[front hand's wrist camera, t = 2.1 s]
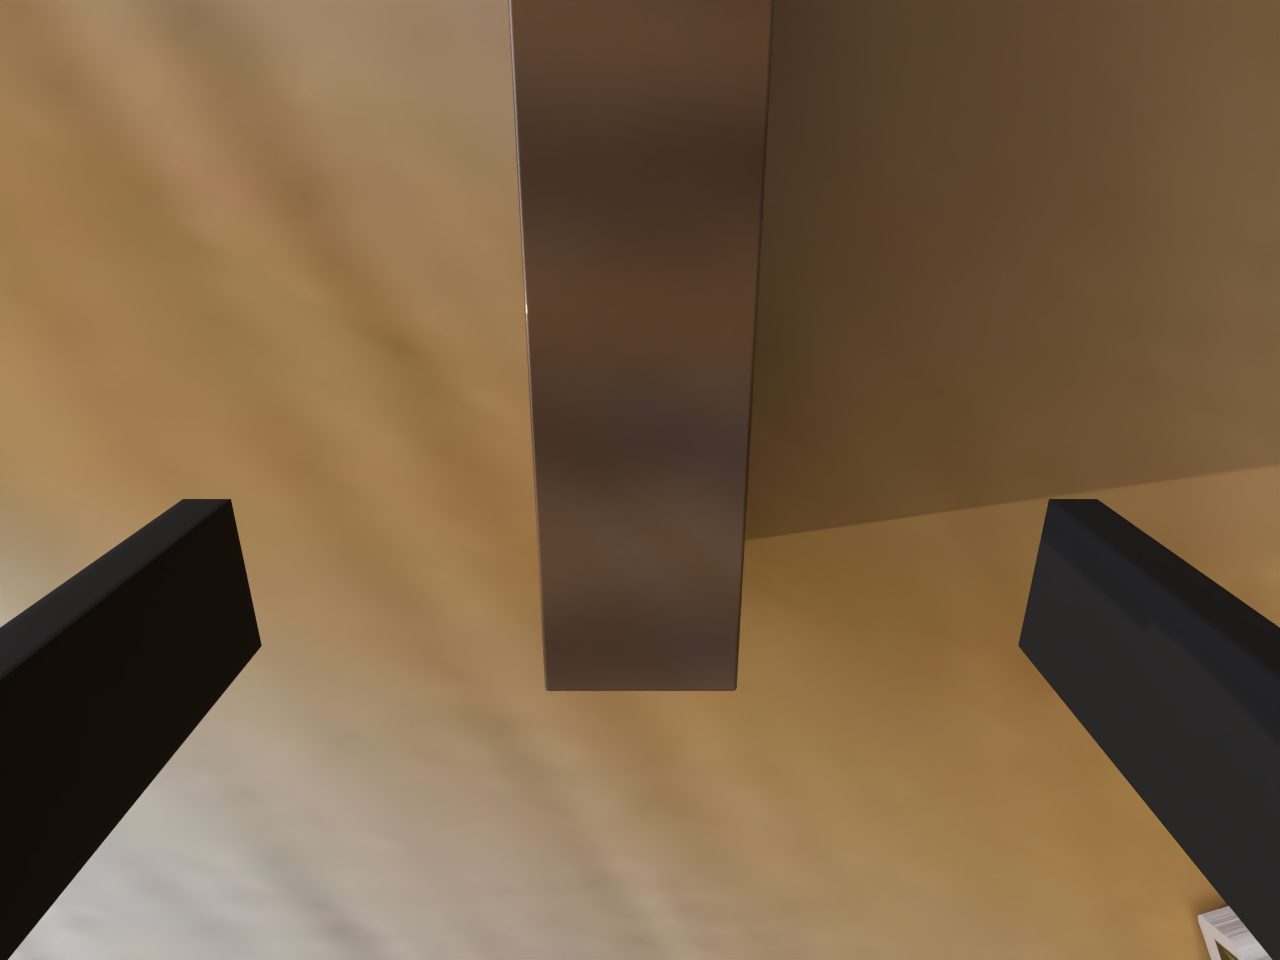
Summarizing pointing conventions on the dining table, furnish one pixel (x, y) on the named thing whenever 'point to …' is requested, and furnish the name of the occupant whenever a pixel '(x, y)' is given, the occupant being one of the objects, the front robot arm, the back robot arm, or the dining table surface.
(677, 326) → the bar
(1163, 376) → the dining table surface
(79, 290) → the dining table surface
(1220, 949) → the cutout
